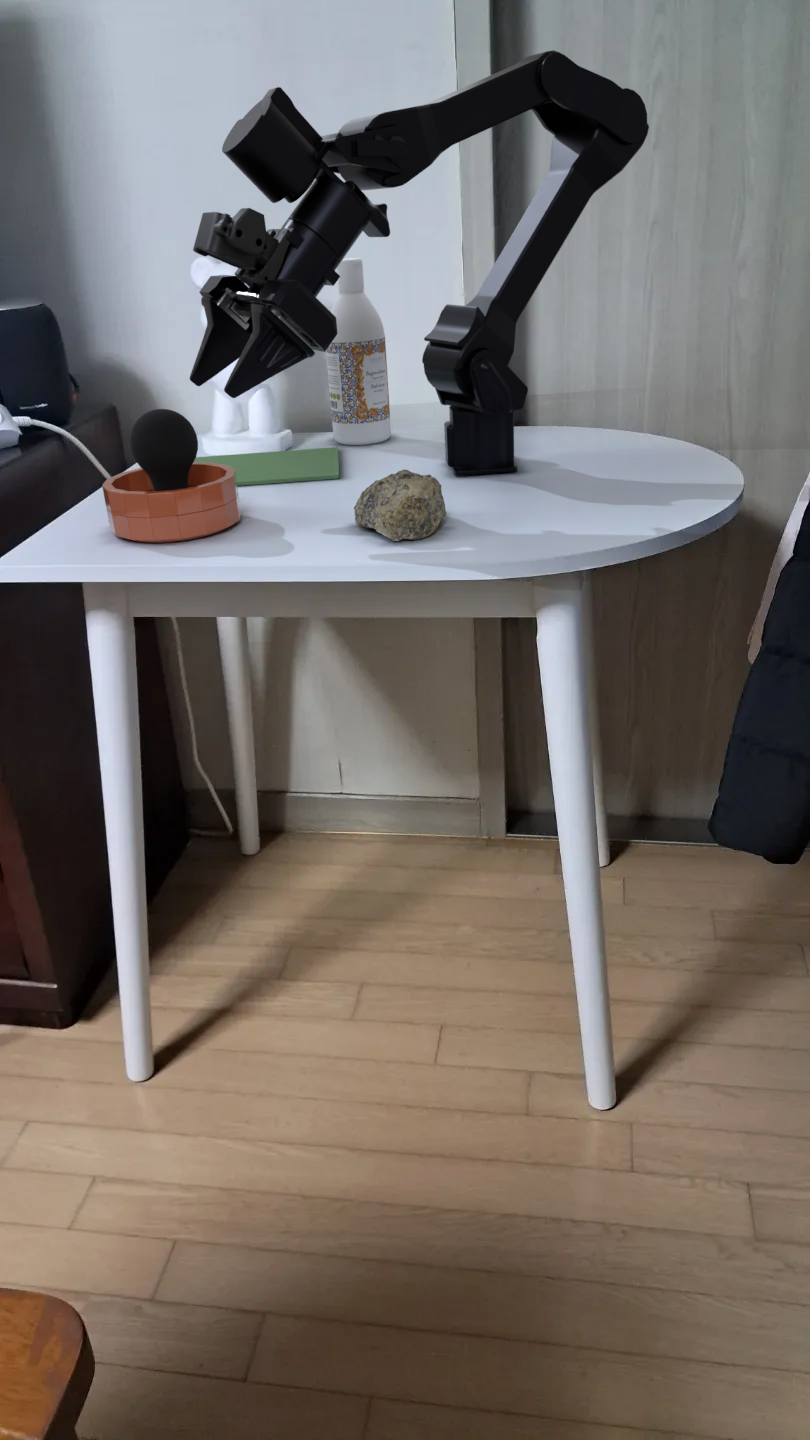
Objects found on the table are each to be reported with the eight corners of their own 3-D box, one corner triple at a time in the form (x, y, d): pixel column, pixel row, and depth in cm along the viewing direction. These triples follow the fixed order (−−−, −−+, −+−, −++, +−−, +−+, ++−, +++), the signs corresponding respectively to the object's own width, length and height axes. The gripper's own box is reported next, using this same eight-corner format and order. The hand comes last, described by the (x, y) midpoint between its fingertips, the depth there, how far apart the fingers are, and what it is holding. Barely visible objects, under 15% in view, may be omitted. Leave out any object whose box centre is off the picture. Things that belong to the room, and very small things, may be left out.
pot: (245, 505, 100) (239, 458, 98) (235, 539, 89) (228, 488, 87) (124, 514, 99) (116, 467, 97) (101, 549, 89) (91, 498, 87)
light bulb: (178, 534, 90) (159, 417, 86) (130, 527, 93) (110, 414, 89) (222, 516, 95) (206, 404, 90) (175, 510, 98) (158, 402, 93)
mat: (338, 450, 120) (337, 446, 120) (339, 478, 107) (339, 474, 107) (165, 462, 119) (165, 459, 119) (146, 492, 107) (145, 488, 106)
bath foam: (360, 448, 120) (346, 261, 111) (322, 442, 124) (305, 261, 116) (403, 437, 124) (392, 256, 115) (364, 431, 129) (351, 256, 120)
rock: (468, 531, 88) (466, 478, 85) (383, 547, 85) (379, 492, 83) (431, 512, 93) (429, 462, 91) (351, 527, 91) (347, 475, 89)
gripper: (207, 178, 93) (108, 320, 94) (287, 165, 78) (169, 334, 79) (295, 266, 100) (202, 398, 100) (385, 270, 85) (276, 425, 85)
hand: (210, 388), depth 91 cm, fingers open, 9 cm apart
